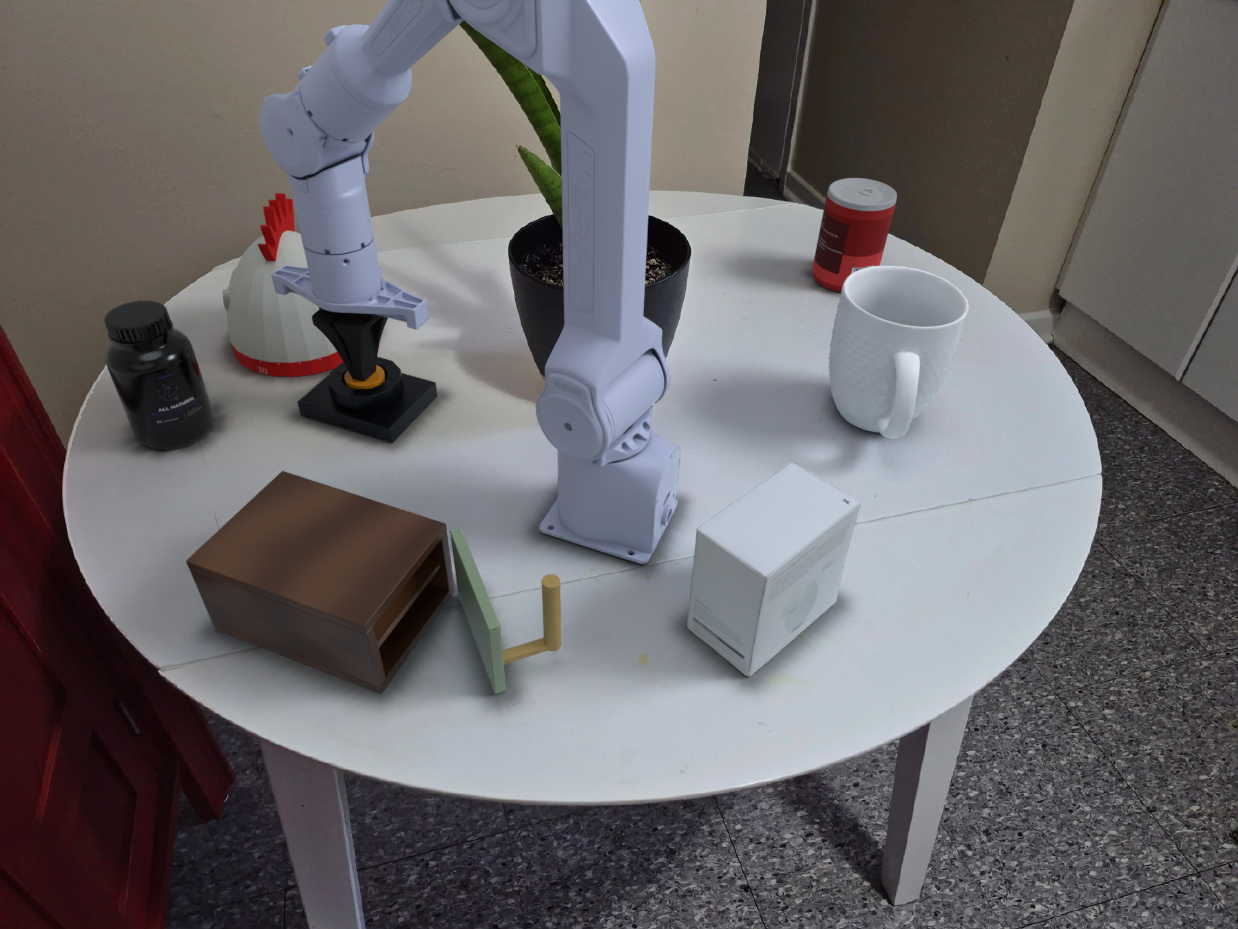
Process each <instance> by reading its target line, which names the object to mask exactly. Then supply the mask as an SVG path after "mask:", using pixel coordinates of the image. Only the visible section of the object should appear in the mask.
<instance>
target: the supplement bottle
mask: <svg viewBox="0 0 1238 929" xmlns="http://www.w3.org/2000/svg"><path fill="white" fill-rule="evenodd" d="M103 322H104V326H105V328H106V331H107V336H108V339H109V341H110V343H109V345H108V346H107V349H106V351H105V355H104V360H105V361H104V362H105V365H106V368H107V370H108V373H109V375H110V379H111V381H112V383H113V385H114V388H115V390H116V393H117V395H118V398H119V400H120V403H121V405H122V408H123V410H124V413H125V415H126V417H127V420H128V423H129V425H130V428H131V430H132V432H133V434H134V436H135V438H136V439H137V440H138V441H139V443H141V444H142V445H144V446H146V447H149V448H153V449H158V450H172V449H179V448H183V447H186V446H189V445H191V444H193V443H195V442H198V441H199V440H201V439H202V438H204V437H205V436H206V435H207V434H208V433H209V432H210V431H211V429H212V427H213V425H214V424H215V414H214V409H213V406H212V403H211V400H210V397H209V393H208V391H207V387H206V383H205V381H204V378H203V375H202V371H201V368H200V365H199V362H198V359H197V356H196V352H195V350H194V347H193V344H192V341H191V340H190V338H189V337H188V336H187V335H186V334H185V333H183V332H182V331H180V330H179V329H176V328H174V323H173V321H172V319H171V317H170V315H169V311H168V309H167V306H165V304H163V303H162V302H158V301H155V300H147V299H146V300H145V299H144V300H142V299H140V300H133V301H129V302H125V303H122V304H119V305H117V306H116V307H113V308H111V310H109V311H108V312H107V313H105V315H104V319H103Z"/></svg>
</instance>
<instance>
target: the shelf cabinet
mask: <svg viewBox="0 0 1238 929" xmlns="http://www.w3.org/2000/svg"><path fill="white" fill-rule="evenodd" d="M449 542H450V541H449V536H448V526H447V523H446V522H444V521H440V520H436V519H433V518H430V517H427V516H425V515H421V514H418V513H415V512H411V511H409V510H405V509H402V508H399V507H396V506H393V505H390V504H387V503H384V502H381V501H377V500H375V499H372V498H368V497H366V496H362V495H360V494H356V493H353V492H350V491H347V490H343V489H341V488H337V487H335V486H331V485H328V484H325V483H322V482H319V481H316V480H313V479H309V478H306V477H304V476H300V475H297V474H294V473H292V472H291V473H290V472H288V471H285V470H281V471H280V472H279V473H278V474H277V475H276V476H275V477H273V479H272V480H271V481H269V483H268V484H266V485H265V486H264V487H263V488H262V489H261V490H260V491H258V493H257V494H256V495H254V496H253V497H252V499H250V500H249V501H248V502H247V503H246V504H245V505H244V506H243V507H241V508H240V510H238V511H237V512H236V513H235V514H234V515H233V516H232V517H231V518H230V519H229V520H228V521H226V523H224V524H223V525H222V526H221V527H220V528H219V529H218V530H217V531H216V532H215V533H214V534H212V536H211V537H209V538H208V539H207V540H206V541H205V542H204V543H203V544H202V545H201V546H200V547H199V548H197V549H196V550H195V551H194V552H193V553H192V554H191V555H190V556H189V557H188V558H187V559H185V562H186V565H187V568H188V570H189V572H190V575H191V577H192V579H193V582H194V584H195V586H196V588H197V591H198V593H199V596H200V598H201V600H202V603H203V606H204V607H205V609H206V612H207V614H208V617H209V619H210V622H211V624H212V626H213V628H214V630H216V631H219V632H222V633H224V634H227V635H229V636H231V637H234V638H236V639H239V640H241V641H244V642H247V643H250V644H252V645H254V646H257V647H259V648H261V649H265V650H267V651H270V652H272V653H275V654H278V655H280V656H283V657H285V658H288V659H291V660H292V661H296V662H299V663H300V664H303V665H306V666H308V667H311V668H313V669H316V670H319V671H322V672H323V673H326V674H329V675H331V676H334V677H337V678H339V679H342V680H344V681H347V682H349V683H352V684H355V685H357V686H359V687H362V688H365V689H368V690H370V691H373V692H375V693H377V694H380V695H382V693H384V691H385V689H386V688H387V686H388V685H389V684H390V682H391V681H392V680H393V678H394V677H395V676H396V674H397V673H398V671H399V670H400V669H401V667H402V666H403V665H404V663H405V661H406V660H407V659H408V658H409V656H410V654H411V653H412V652H413V650H414V649H415V648H416V647H417V645H418V644H419V642H420V640H421V639H422V637H423V636H424V635H425V634H426V632H427V631H428V629H429V628H430V627H431V625H432V624H433V623H434V621H435V620H436V619H437V618H438V616H439V614H440V613H441V611H442V610H443V609H444V608H445V606H446V605H447V603H448V602H449V600H450V599H451V598H452V596H453V595H454V593H455V592H456V585H455V581H454V580H455V579H454V574H453V565H452V557H451V550H450V543H449Z"/></svg>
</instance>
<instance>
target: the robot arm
mask: <svg viewBox="0 0 1238 929" xmlns="http://www.w3.org/2000/svg"><path fill="white" fill-rule="evenodd" d="M463 21H464V22H466V23H467V25H469V26H471V28H473V29H474V30H475V31H477V32H478V33H480V34H481V35H482V36H483V37H485V38H486V39H488V40H490V42H492V43H494V44H495V45H497V46H498V47H500V49H502V50H504V51H505V52H506V53H508V54H509V55H511V56H512V57H513V58H515V59H516V60H518V61H519V62H521V64H523V65H525V66H526V67H527V68H529V69H530V70H532V71H533V72H535V73H536V74H537V75H541V76H544V77H545V78H546V79H547V80H548V82H550V84H551V85H553V87H554V88H555V89H556V90H557V92H558V95H559V100H560V101H559V108H560V109H559V110H560V112H559V113H560V155H561V156H560V157H561V158H560V159H561V160H560V162H561V164H560V165H561V168H560V169H561V205H562V206H561V214H562V215H561V216H562V217H561V218H562V220H561V222H562V265H563V267H562V271H563V272H562V273H563V318H564V319H563V321H564V324H563V328H562V330H561V332H560V334H559V336H558V338H557V341H556V343H555V345H554V346H553V349H552V351H551V352H550V354H549V356H548V359H547V361H546V363H545V365H544V384H543V387H542V390H541V391H540V392H539V394H538V396H537V399H536V402H535V415H536V420H537V423H538V424H539V427H540V429H541V431H542V434H543V435H544V437H545V438H546V440H547V441H548V442H549V443H550V444H551V445H552V446H553V448H555V450H556V453H557V454H556V458H557V459H556V462H557V463H556V464H557V498H556V499H555V501H554V503H553V504H552V505H551V507H550V508H549V510H548V511H547V513H546V515H545V516H544V517H543V518H542V521H541V522H540V524H539V526H538V528H539V532H540V533H542V534H545V535H548V536H551V537H555V538H557V539H561V540H564V541H567V542H570V543H574V544H577V545H581V546H583V547H585V548H589V549H593V550H595V551H599V552H601V553H605V554H607V555H610V556H615V557H618V558H621V559H623V560H627V561H631V562H633V563H637V564H639V565H640V564H641V565H646V564H648V563H649V562H650V560H651V557H652V556H653V554H654V552H655V550H656V549H657V546H658V544H659V542H660V540H661V538H662V537H663V534H664V532H665V530H666V529H667V527H668V525H669V523H670V521H671V518H672V517H673V515H674V513H675V511H676V509H677V507H678V504H679V500H678V499H677V493H678V483H679V473H680V463H681V448H680V446H679V445H678V444H676V443H673V442H671V441H669V440H668V439H666V438H664V437H662V436H661V435H659V434H658V433H657V432H655V431H654V430H653V429H652V419H653V415H654V405H655V404H657V403H658V402H659V401H661V400H662V399H663V398H665V396H666V395H667V393H668V391H669V388H670V385H671V372H670V367H669V364H668V362H667V359H666V357H665V354H664V349H663V329H662V328H661V327H660V326H658V325H657V324H656V323H655V322H653V321H652V320H651V319H650V318H647V317H646V316H644V310H645V309H644V308H645V290H646V269H647V268H646V267H647V251H648V249H647V248H648V229H649V228H648V227H649V209H650V208H649V207H650V204H649V203H650V188H651V166H652V147H653V127H654V109H655V108H654V107H655V106H654V105H655V88H656V86H655V84H656V69H657V68H656V67H657V65H656V52H655V50H656V49H655V47H654V43H653V39H652V36H651V33H650V29H649V26H648V23H647V19H646V16H645V14H644V10H643V7H642V4H641V1H640V0H387V1H386V3H385V4H384V5H383V7H382V8H381V10H380V11H379V13H378V14H376V17H375V18H374V19H373V21H372V23H370V25H369V24H361V23H358V24H357V23H355V24H350V25H347V24H343V25H339V26H336V27H332V28H329V30H328V31H327V32H326V34H325V35H324V36H323V41H324V42H325V44H326V46H327V47H326V48H325V50H323V52H322V53H321V54H320V55H319V57H318V58H317V59H316V60H315V61H314V63H313V64H311V65H309V66H305V67H303V68H302V69H301V70H300V71H299V72H298V74H297V79H298V80H299V81H298V82H297V84H296V85H295V87H294V89H293V90H292V91H289V92H285V93H273V94H270V95H267V96H265V97H264V98H263V102H262V105H261V107H260V109H259V114H258V127H259V132H260V135H261V136H260V137H261V138H262V142H263V144H264V146H265V148H266V150H267V153H269V155H270V156H271V158H272V160H273V161H274V162H275V163H276V165H278V166H279V168H280V169H281V170H283V172H285V173H286V175H287V180H288V184H289V188H290V192H291V197H292V198H291V199H292V200H293V208H294V212H295V216H296V220H297V225H298V230H299V233H300V234H301V239H302V243H303V248H304V252H305V257H306V261H307V266H308V268H307V267H296V266H290V265H284V266H282V267H281V268H279V269H278V270H276V271H275V272H273V273H272V274H271V276H272V280H273V284H274V288H275V292H276V293H277V294H281V295H287V294H288V293H289V292H291V293H295V294H299V295H301V296H302V297H304V298H306V299H307V300H309V301H310V302H312V303H313V304H315V305H317V306H318V307H319V310H318V311H317V312H316V313H314V314H313V315H312V321H313V325H314V326H316V327H317V328H318V329H319V330H320V331H321V332H322V333H323V334H324V335H325V336H326V337H327V338H328V340H329V341H330V342H331V343H332V345H333V346H334V347H335V349H336V350H337V352H338V354H339V355H340V357H341V359H342V360H343V362H344V364H345V366H346V368H347V370H348V372H349V373H350V375H351V377H352V379H356V380H359V381H363V382H364V381H366V380H367V379H368V378H369V377H370V376H372V375H373V374H374V373H375V372H376V366H377V357H379V355H378V354H379V348H380V343H381V339H382V335H383V332H384V329H385V326H386V324H387V322H388V319H392V320H396V321H399V322H404V323H406V327H407V328H409V329H412V330H419V328H421V327H422V326H423V325H424V324H425V323H426V322H427V321H428V320H430V316H429V308H428V300H427V299H425V298H422V297H419V296H416V295H414V294H411V293H409V292H408V291H406V290H404V289H402V288H401V287H399V286H397V285H395V284H394V283H393V282H391V281H389V280H387V279H385V278H384V275H383V269H382V268H380V266H379V259H378V253H377V246H376V241H375V235H374V230H373V223H372V216H371V210H370V204H369V197H368V191H367V186H366V180H365V179H366V178H367V177H368V176H369V172H370V171H371V170H370V164H369V154H370V151H371V149H372V148H373V145H374V142H375V130H376V129H378V127H379V126H380V125H381V124H382V123H384V121H385V120H386V119H387V118H388V117H389V116H391V114H393V113H394V112H395V111H396V110H397V109H398V108H399V107H400V106H401V105H402V103H404V102H405V101H406V100H407V99H408V98H409V96H410V94H411V91H412V88H413V72H412V67H413V66H414V65H415V64H416V63H417V62H419V61H420V60H421V59H422V58H423V57H424V56H425V55H426V54H427V53H428V52H430V51H432V49H433V48H434V47H436V46H437V45H438V44H439V43H440V42H441V41H442V40H443V39H444V38H445V37H447V36H448V35H449V34H450V33H451V32H452V31H453V30H454V29H456V28H457V27H458V26H459V25H460V24H461V23H463Z"/></svg>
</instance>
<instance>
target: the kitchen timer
mask: <svg viewBox="0 0 1238 929" xmlns="http://www.w3.org/2000/svg"><path fill="white" fill-rule="evenodd" d="M274 193H275V194H274V198H275V199H268V200H267V201H268V202H267V203H268V205H263V206H262V211H263V215H264V221H265V224H259V228H260V231H261V233H262V235H261V236H260V237H258V238H257V239H256V240H255V241H253V242H252V244H250V245H249V247H247V248H246V249H245V251H244V252H243V254H242V255H241V257H240V259H239V261H238V263H237V265H236V267H235V268H234V269H233V270H232V272H231V276H230V280H229V283H228V287H227V288H226V289H222V291H221V292H222V301H223V303H222V304H223V307H224V309H225V310H226V312H227V313H226V324H227V331H228V336H229V342H230V346H231V349H232V352H233V355H234V358H235V359H236V360H237V361H238V362H239V363H240V365H241V366H243V367H245V368H246V369H249V370H250V371H252V372H254V373H257V374H262V375H267V376H270V377H285V378H286V377H289V378H292V377H293V378H295V377H302V376H312V375H316V374H320V373H324V372H327V371H332V370H334V369H335V368H336V367H337V366H338V365H339V364H341V363H343V360H342V359H341V357H340V355H339V354H338V352H337V350H336V349H335V347H334V346H333V345H332V343H331V342H330V341H329V340H328V338H327V337H326V336H325V335H324V334H323V333H322V332H321V331H320V330H319V329H318V328H317V327H316V326H314V325H313V321H312V315H313V314H314V313H316V312H317V311H318V310H319V307H318V306H317V305H315V304H313V303H312V302H310V301H309V300H307V299H306V298H304V297H302V296H301V295H299V294H295V293H291V292H289V293H288V294H287V295H281V294H277V293H276V292H275V288H274V284H273V280H272V276H271V274H272V273H273V272H275V271H276V270H278V269H279V268H281V267H282V266H284V265H290V266H296V267H307V268H308V266H307V261H306V257H305V252H304V248H303V243H302V239H301V234H300V232H297V231H295V230H296V229H295V207H294V202H293V198H287V195H286V193H285V192H284V193H283V192H282V193H281V192H274Z"/></svg>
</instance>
